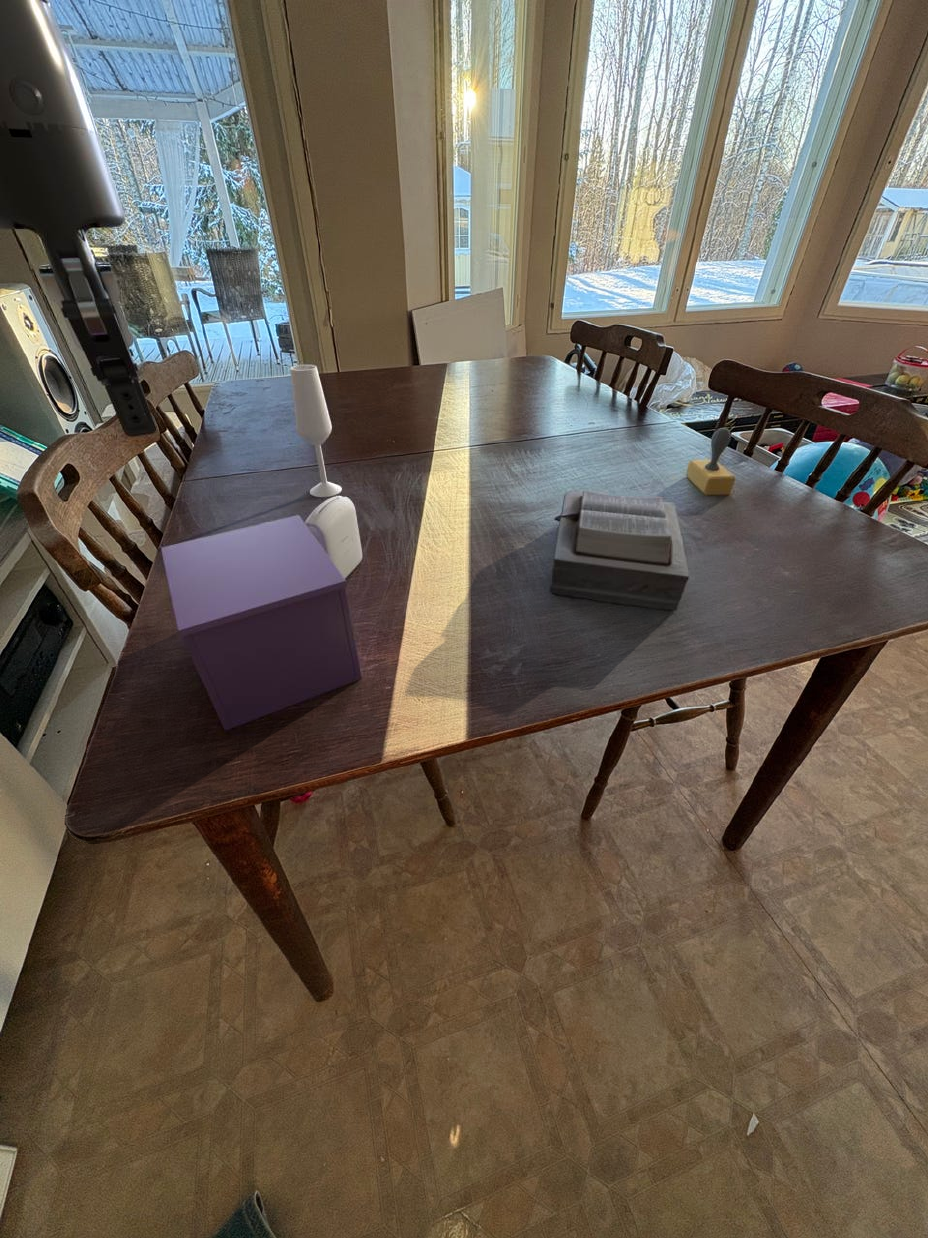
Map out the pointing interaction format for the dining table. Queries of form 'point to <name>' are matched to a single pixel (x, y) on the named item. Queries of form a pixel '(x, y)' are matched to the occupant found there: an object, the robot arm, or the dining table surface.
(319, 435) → the champagne flute
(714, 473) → the rubber stamp
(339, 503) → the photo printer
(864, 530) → the dining table surface
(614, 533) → the bible
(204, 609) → the lid
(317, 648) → the box
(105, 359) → the robot arm
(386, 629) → the dining table surface
